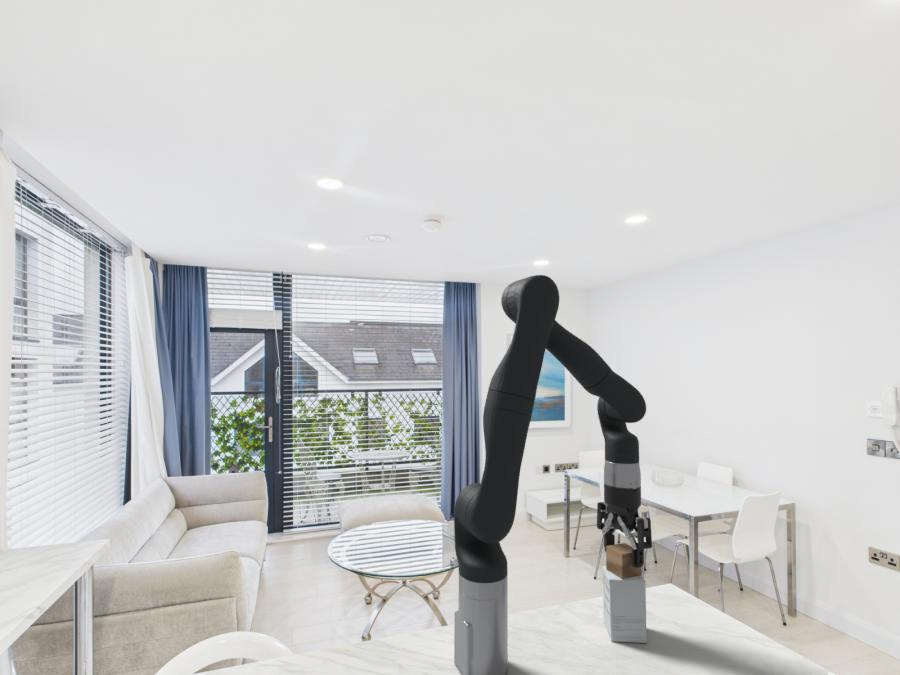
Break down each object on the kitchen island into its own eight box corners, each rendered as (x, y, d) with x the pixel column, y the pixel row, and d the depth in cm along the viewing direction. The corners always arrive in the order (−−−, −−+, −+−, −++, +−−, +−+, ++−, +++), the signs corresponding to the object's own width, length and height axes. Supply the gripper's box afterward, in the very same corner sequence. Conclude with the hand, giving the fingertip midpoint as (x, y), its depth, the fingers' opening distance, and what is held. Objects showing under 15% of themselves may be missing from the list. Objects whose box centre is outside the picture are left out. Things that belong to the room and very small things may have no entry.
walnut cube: (622, 578, 102) (621, 554, 102) (606, 569, 107) (606, 545, 107) (641, 575, 104) (641, 551, 104) (625, 566, 108) (624, 543, 109)
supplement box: (637, 625, 108) (636, 566, 109) (647, 644, 101) (646, 580, 101) (602, 623, 109) (601, 564, 109) (610, 642, 101) (609, 578, 102)
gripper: (587, 476, 112) (587, 550, 111) (631, 491, 98) (632, 575, 97) (613, 474, 114) (614, 545, 113) (660, 488, 101) (662, 569, 100)
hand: (623, 559), depth 105 cm, fingers open, 8 cm apart
